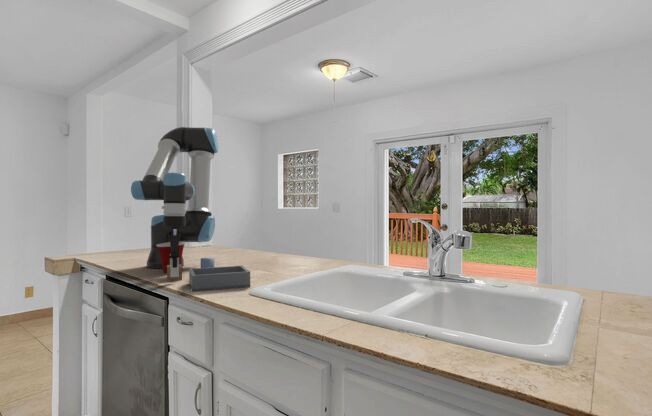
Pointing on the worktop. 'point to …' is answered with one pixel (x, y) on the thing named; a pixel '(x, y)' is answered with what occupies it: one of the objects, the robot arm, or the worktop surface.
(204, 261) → the slate cylinder
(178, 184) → the robot arm
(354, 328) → the worktop surface
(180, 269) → the walnut cube
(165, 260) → the plastic cup
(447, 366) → the worktop surface
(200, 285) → the tote
